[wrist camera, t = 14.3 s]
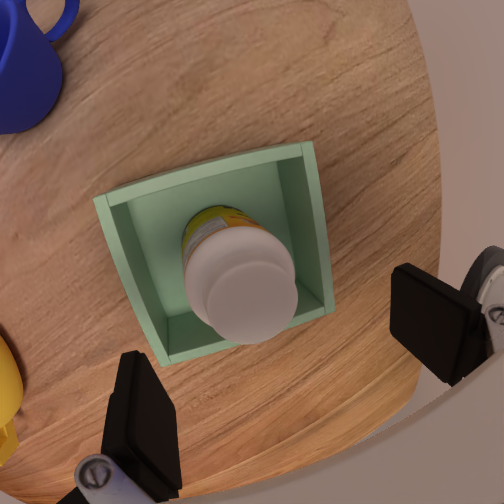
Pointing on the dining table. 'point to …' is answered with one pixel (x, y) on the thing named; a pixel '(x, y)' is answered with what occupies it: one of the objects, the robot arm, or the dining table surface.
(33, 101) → the mug
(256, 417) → the dining table surface
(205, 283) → the supplement bottle
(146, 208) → the bin
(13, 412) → the teapot
